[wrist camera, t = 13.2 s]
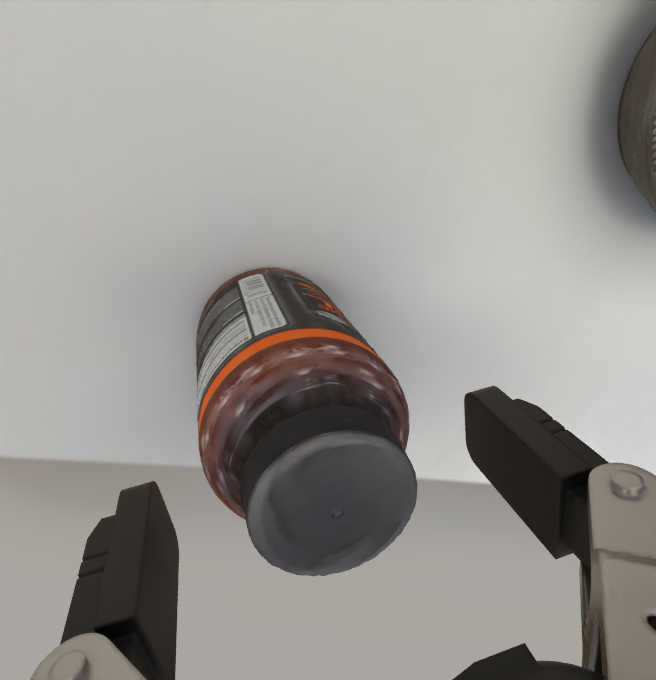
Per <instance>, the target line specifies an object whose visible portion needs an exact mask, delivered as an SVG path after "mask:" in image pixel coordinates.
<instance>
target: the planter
mask: <svg viewBox="0 0 656 680" xmlns="http://www.w3.org/2000/svg"><path fill="white" fill-rule="evenodd" d="M618 140H619V147H620V152H621V155H622V159H623V162H624V164H625V166H626V168H627V170H628V172H629V174H630V175H631V177H632V178H633V180H634V182H635V183H636V185H637V187H638V188H639V190H640V191H641V193H642V194H643V196H644V197H645V198H646V200H647V201H648V202H649V204H650V205H651V206H652V208H653V209H654V210H655V211H656V28H655V29H654V30H653V32H652V33H651V34H650V35H649V37H648V38H647V40H646V41H645V43H644V44H643V46H642V48H641V49H640V51H639V53H638V54H637V56H636V58H635V60H634V62H633V64H632V67H631V69H630V71H629V74H628V77H627V79H626V82H625V85H624V89H623V93H622V97H621V101H620V107H619V115H618Z"/></svg>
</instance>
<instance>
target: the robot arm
mask: <svg viewBox="0 0 656 680" xmlns="http://www.w3.org/2000/svg"><path fill="white" fill-rule="evenodd" d="M464 405H465V431H466V445H467V449H468V452H469V454H470V456H471V458H472V460H473V462H474V463H475V465H476V466H477V467H478V468H479V469H480V471H481V472H482V473H483V474H484V475H485V477H486V478H487V479H488V480H489V481H490V482H491V484H492V485H493V486H494V487H495V488H496V489H497V490H498V492H499V493H500V494H501V495H502V496H503V498H504V499H505V500H506V501H507V502H508V504H509V505H510V506H511V507H512V508H513V509H514V511H515V512H516V513H517V514H518V515H519V517H520V518H521V519H522V520H523V521H524V523H525V524H526V525H527V526H528V527H529V528H530V529H531V531H532V532H533V533H534V534H535V535H536V537H537V538H538V539H539V540H540V541H541V543H542V544H543V545H544V546H545V547H546V548H547V550H548V551H549V552H550V553H551V554H552V555H553V557H554V558H555V559H558V558H561V557H563V556H566V555H569V554H572V553H574V554H575V555H576V556H577V557H578V558H579V560H580V594H581V619H582V642H583V658H582V667H579V666H576V665H573V664H568V663H562V662H555V661H536V660H535V658H534V657H533V655H532V654H531V652H530V651H529V649H528V648H527V646H526V644H525V643H524V644H521V645H519V646H516V647H513V648H511V649H508V650H506V651H503V652H500V653H498V654H495V655H493V656H490V657H488V658H485V659H482V660H479V661H477V662H474V663H473V664H472V665H471V666H469V667H468V668H467V669H466V670H464V671H463V672H462V673H461V674H459V675H458V676H457V677H455V678H454V679H453V680H656V476H655V475H653V474H652V473H650V472H649V471H646V470H644V469H642V468H640V467H637V466H633V465H630V464H624V463H609V462H607V461H606V460H605V459H604V458H602V457H601V456H600V455H599V454H597V453H596V452H595V451H594V450H592V449H591V448H590V447H588V446H587V445H586V444H585V443H583V442H582V441H581V440H580V439H578V438H577V437H576V436H575V435H573V434H572V433H571V432H570V431H568V430H565V428H564V427H563V426H562V425H561V424H560V423H558V422H557V421H556V420H553V418H552V417H551V416H550V415H548V414H547V413H546V412H545V411H543V410H542V409H541V408H540V407H538V406H536V405H533V404H531V403H529V402H526V401H524V400H521V399H515V400H512V399H511V398H510V397H508V396H507V395H506V394H505V393H504V392H502V391H501V390H500V389H499V388H497V387H496V386H491V387H487V388H484V389H480V390H477V391H473V392H470V393H467V394H466V395H465V399H464ZM178 567H179V547H178V540H177V536H176V532H175V528H174V526H173V523H172V521H171V518H170V515H169V513H168V510H167V508H166V505H165V503H164V500H163V498H162V495H161V493H160V490H159V488H158V486H157V484H156V482H154V481H153V482H149V483H145V484H142V485H138V486H135V487H131V488H128V489H124V490H122V491H121V492H120V495H119V500H118V505H117V510H116V515H113V516H110V517H106V518H103V519H101V520H100V522H99V523H98V525H97V526H96V527H95V529H94V530H93V532H92V533H91V535H90V536H89V537H88V539H87V543H86V547H85V551H84V555H83V562H82V563H81V566H80V570H79V574H78V576H79V579H77V582H76V586H75V589H74V593H73V597H72V601H71V605H70V609H69V613H68V617H67V621H66V625H65V628H64V632H63V636H62V640H61V643H60V645H59V646H58V647H57V648H55V649H54V650H53V651H52V652H51V653H50V654H49V655H48V656H46V658H45V659H44V660H43V661H42V662H41V663H40V665H39V666H38V667H37V669H36V670H35V672H34V673H33V675H32V677H31V679H30V680H175V663H176V632H177V601H178V599H177V598H178V569H179V568H178Z"/></svg>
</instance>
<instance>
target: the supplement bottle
mask: <svg viewBox="0 0 656 680" xmlns="http://www.w3.org/2000/svg"><path fill="white" fill-rule="evenodd" d="M196 350H197V363H196V365H197V397H198V398H197V401H198V404H197V406H198V418H197V419H198V434H199V451H200V457H201V462H202V466H203V470H204V473H205V475H206V478H207V480H208V482H209V484H210V486H211V488H212V489H213V491H214V493H215V494H216V495H217V496H218V498H219V499H220V500H221V501H222V502H223V503H224V504H225V505H226V506H227V507H228V508H229V509H231V510H232V511H233V512H234V513H236V514H237V515H238V516H240V517H242V518H243V519H245V520H246V523H247V528H248V532H249V536H250V537H251V540H252V542H253V544H254V546H255V548H256V549H257V550H258V552H259V553H260V555H262V556H263V557H264V558H265V559H266V560H267V561H268V562H269V563H270V564H271V565H273V566H276V567H278V568H281V569H282V570H284V571H286V572H290V573H293V574H296V575H309V576H317V575H321V576H325V575H329V574H333V573H339V572H343V571H346V570H350V569H352V568H355V567H358V566H360V565H361V564H363V563H364V562H367V561H369V560H371V559H373V558H374V557H376V556H377V555H378V554H379V553H380V552H382V551H383V550H384V549H386V548H387V547H388V546H389V545H390V544H391V543H392V542H393V541H394V540H395V539H396V537H397V536H399V534H401V532H402V531H403V529H404V527H405V526H406V524H407V523H408V521H409V520H410V517H411V514H412V512H413V510H414V508H415V503H416V498H417V481H416V475H415V471H414V469H413V466H412V464H411V462H410V460H409V458H408V456H407V455H406V453H405V450H406V446H407V440H408V435H409V412H408V405H407V402H406V399H405V396H404V393H403V391H402V389H401V387H400V385H399V382H398V379H397V378H396V377H395V376H394V375H393V373H392V372H391V370H390V369H389V368H388V367H387V365H386V364H385V363H384V362H383V360H382V359H381V358H380V357H379V356H378V355H377V353H376V352H375V350H374V349H373V348H372V347H371V346H370V345H369V344H368V343H367V341H366V340H365V339H364V338H363V336H362V335H361V334H360V333H359V332H358V331H357V330H356V329H355V328H354V327H353V326H352V324H351V323H350V322H349V321H348V320H347V319H346V317H345V316H344V315H343V313H342V312H341V311H340V310H339V309H338V308H337V307H336V306H335V304H334V303H333V302H332V301H331V299H330V298H329V297H328V296H327V295H326V294H325V293H324V291H322V290H321V289H320V288H319V287H318V286H316V285H315V284H313V283H312V282H311V281H310V280H308V279H306V278H305V277H303V276H301V275H299V274H296V273H294V272H291V271H287V270H282V269H278V268H263V269H257V270H253V271H249V272H246V273H243V274H241V275H238V276H236V277H234V278H232V279H230V280H229V281H228V282H226V283H225V284H224V285H222V286H221V287H220V288H219V289H218V290H217V291H216V292H215V293H214V294H213V295H212V297H211V298H210V299H209V301H208V302H207V304H206V306H205V308H204V310H203V312H202V315H201V318H200V321H199V326H198V330H197V341H196Z"/></svg>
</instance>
